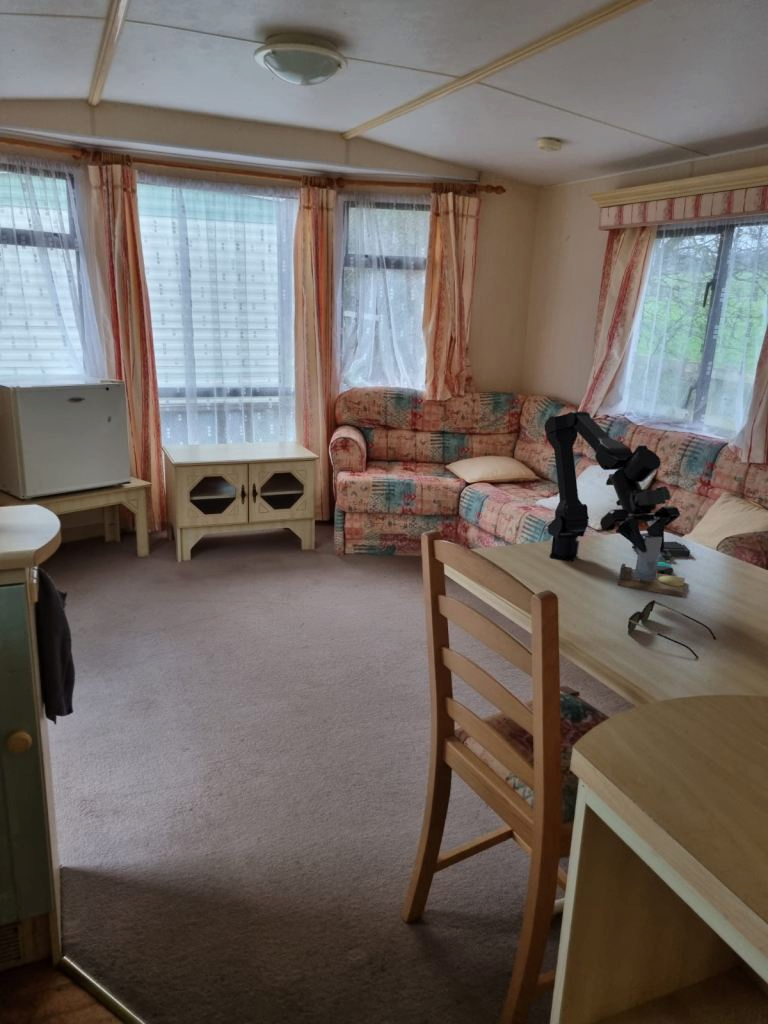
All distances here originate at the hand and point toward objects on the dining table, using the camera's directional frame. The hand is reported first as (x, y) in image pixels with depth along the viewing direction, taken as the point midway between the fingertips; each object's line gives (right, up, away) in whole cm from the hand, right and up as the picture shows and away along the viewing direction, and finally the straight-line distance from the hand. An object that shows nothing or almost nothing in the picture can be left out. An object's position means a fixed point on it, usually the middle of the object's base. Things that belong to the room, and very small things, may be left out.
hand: (653, 550), depth 162 cm
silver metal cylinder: (-1, -6, +3) cm, 7 cm away
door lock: (+6, -9, +17) cm, 20 cm away
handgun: (+17, -6, +35) cm, 39 cm away
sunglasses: (-1, -18, -13) cm, 22 cm away
